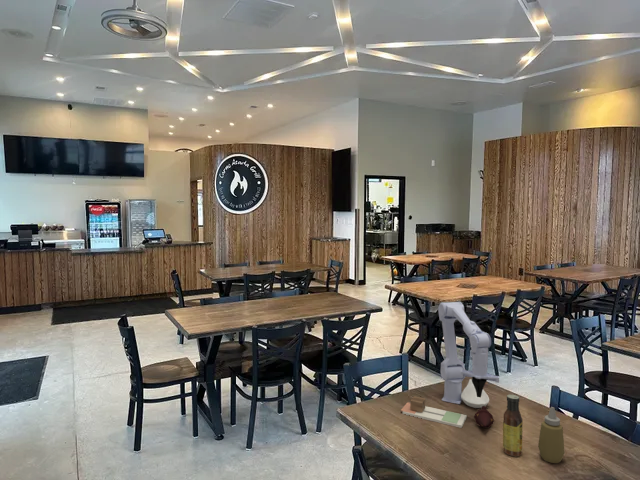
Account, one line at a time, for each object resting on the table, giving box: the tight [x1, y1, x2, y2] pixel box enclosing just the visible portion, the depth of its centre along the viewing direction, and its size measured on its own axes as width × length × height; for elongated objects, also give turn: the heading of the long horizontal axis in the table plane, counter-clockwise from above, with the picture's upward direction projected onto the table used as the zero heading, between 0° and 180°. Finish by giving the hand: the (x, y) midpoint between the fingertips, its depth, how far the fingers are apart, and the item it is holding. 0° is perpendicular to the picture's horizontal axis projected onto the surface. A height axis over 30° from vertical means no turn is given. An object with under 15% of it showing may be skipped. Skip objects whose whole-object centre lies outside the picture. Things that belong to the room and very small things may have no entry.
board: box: [400, 401, 467, 429], centre depth 179 cm, size 10×25×1 cm, turn 61°
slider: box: [409, 396, 426, 412], centre depth 182 cm, size 5×5×4 cm
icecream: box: [473, 405, 495, 429], centre depth 170 cm, size 7×7×15 cm
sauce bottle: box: [502, 394, 524, 457], centre depth 151 cm, size 7×6×20 cm
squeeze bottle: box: [537, 406, 566, 464], centre depth 147 cm, size 8×8×18 cm
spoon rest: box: [461, 378, 490, 409], centre depth 195 cm, size 24×12×7 cm, turn 165°
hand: (479, 396), depth 174 cm, fingers closed
